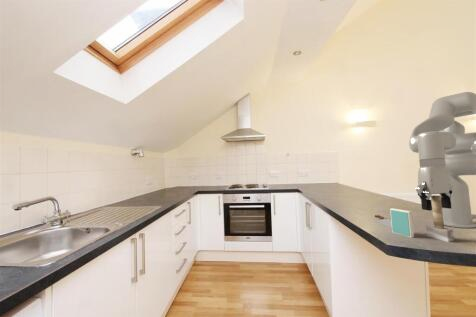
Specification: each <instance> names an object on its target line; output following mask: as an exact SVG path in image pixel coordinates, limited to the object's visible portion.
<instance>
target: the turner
mask: <svg viewBox="0 0 476 317" xmlns="http://www.w3.org/2000/svg"><path fill="white" fill-rule="evenodd" d="M430 200H431V203H432V210H431V211H432V218H433V225H432V224H431V225H427V226H425V227H426V235H427V238H432V239H436V240H438V241H439V240H440V241H444V242H447V243H450V242H454V241H455V235H454V229H452V228H447V227H445V225H444V222H443V212H442V203H441V196H440V195H437V194H432V195H431V197H430Z"/></svg>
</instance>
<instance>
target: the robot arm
mask: <svg viewBox="0 0 476 317" xmlns="http://www.w3.org/2000/svg"><path fill="white" fill-rule="evenodd" d="M472 115H476V93H474V92H473V91H463V92H460V93H459V92H458V93H456V94H454V93H453V94H451V95H447V96H442V97H439V98H437V99H435V100H434V101H433V103H432V104H431V108H430V112H429V116H428V118H427V119H425V120H423V121H421V122H420V123H419V124H417V125H416V126H415V127H414V128H413V129H412V131H411V135H410V138H409V141H408V142H409V143H408V144H409V145H408V146H409V149H410V150H411V151H412V152H413V153H416V154H417V153H418V161H419V162H418V163H419V168H418V172H417V186H416V187H415V190H416V193H417V195H418V198H419V199H420V205H421V210H422V211H423V210H424V211H430V212H431V211H432V201H431V196H433V195H439V196H441V203H442V212H443V222H444V226H447V227H453V228H461V229H462V228H463V229H465V228H467V229H471V228H473V229H474V228H476V221H473V220H476V214H474V213H473V214H472V207H471V198H470V192H469V191H470V190H469V185H468V184H467V182H466V181H465V180H464V179H462V178H461V176H476V132H467V133H466V131H465V130H466V127H465V126H464V125H463V124H462V123H460V122H458V121H457V120H455V118H460V117H467V116H472Z"/></svg>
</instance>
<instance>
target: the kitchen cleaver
mask: <svg viewBox="0 0 476 317" xmlns="http://www.w3.org/2000/svg"><path fill="white" fill-rule="evenodd" d="M374 217H375V218H377V220H375V222H376V223H378V224H381V225H383V226H387V227H389V228H392V225H391V218H390V219H389V218H386V217H384V216H382V215H380V214H375V215H374Z"/></svg>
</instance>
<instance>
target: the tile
mask: <svg viewBox="0 0 476 317" xmlns="http://www.w3.org/2000/svg"><path fill="white" fill-rule="evenodd" d="M389 212H390V213H389V214H390V220H391V225H392V227H391V231H392V232H391V233H393V234H396V235H400V236H404V237H407V238H410V239H412V238H415V232H414V231H415V230H414V223H413V222H414V221H413V212H412V211H410V210H405V209H399V208H392V207H391V208H389Z"/></svg>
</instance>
